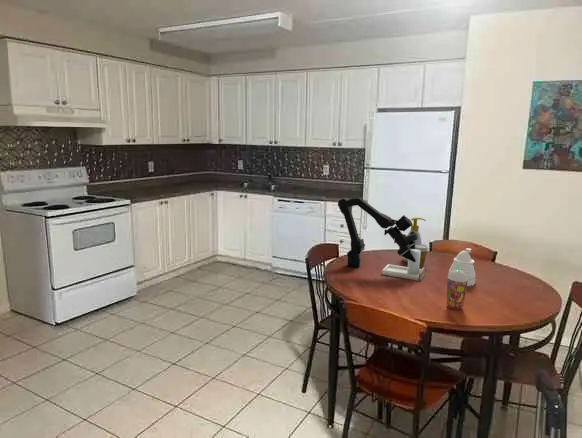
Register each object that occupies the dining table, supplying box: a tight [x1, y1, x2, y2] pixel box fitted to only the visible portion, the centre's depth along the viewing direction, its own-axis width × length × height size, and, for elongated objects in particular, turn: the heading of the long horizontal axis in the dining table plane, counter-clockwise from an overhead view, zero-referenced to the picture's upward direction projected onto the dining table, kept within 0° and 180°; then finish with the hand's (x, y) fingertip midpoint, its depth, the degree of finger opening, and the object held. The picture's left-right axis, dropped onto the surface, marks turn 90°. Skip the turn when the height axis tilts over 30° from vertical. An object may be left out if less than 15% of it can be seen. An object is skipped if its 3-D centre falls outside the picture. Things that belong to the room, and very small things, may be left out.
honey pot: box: [448, 247, 476, 287], centre depth 218 cm, size 13×13×18 cm
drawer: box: [381, 263, 426, 282], centre depth 229 cm, size 20×12×4 cm, turn 63°
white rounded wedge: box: [407, 249, 421, 275], centre depth 225 cm, size 6×6×13 cm
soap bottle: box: [402, 217, 426, 264], centre depth 251 cm, size 11×12×26 cm
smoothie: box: [446, 264, 468, 311], centre depth 184 cm, size 8×8×20 cm
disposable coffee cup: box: [415, 243, 429, 269], centre depth 243 cm, size 10×10×12 cm
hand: (417, 259), depth 224 cm, fingers open, 9 cm apart
